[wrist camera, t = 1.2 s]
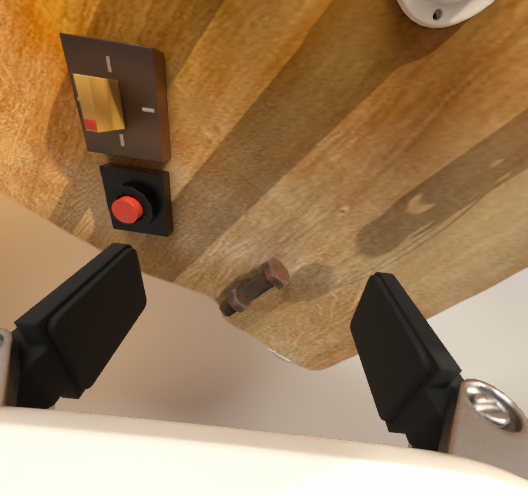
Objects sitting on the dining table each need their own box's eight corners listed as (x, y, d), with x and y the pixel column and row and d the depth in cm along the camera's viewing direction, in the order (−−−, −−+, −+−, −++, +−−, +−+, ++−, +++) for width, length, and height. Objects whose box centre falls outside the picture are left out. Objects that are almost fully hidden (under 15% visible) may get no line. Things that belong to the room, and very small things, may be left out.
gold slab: (105, 78, 27) (70, 73, 22) (118, 80, 27) (85, 75, 22) (114, 127, 29) (84, 130, 25) (125, 128, 29) (97, 132, 25)
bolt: (226, 294, 49) (278, 255, 43) (239, 314, 49) (294, 278, 42) (208, 304, 44) (264, 261, 38) (223, 327, 43) (282, 287, 37)
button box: (108, 162, 35) (90, 168, 31) (169, 171, 35) (156, 178, 32) (121, 222, 40) (106, 233, 37) (173, 230, 40) (163, 242, 37)
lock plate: (79, 39, 28) (57, 31, 25) (163, 52, 28) (151, 47, 25) (102, 147, 34) (86, 151, 31) (171, 158, 34) (161, 162, 31)
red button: (116, 193, 33) (108, 197, 32) (141, 197, 33) (135, 201, 32) (121, 216, 35) (114, 221, 34) (144, 220, 35) (138, 225, 34)
